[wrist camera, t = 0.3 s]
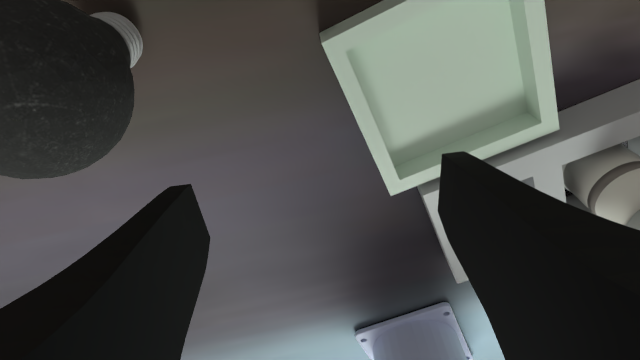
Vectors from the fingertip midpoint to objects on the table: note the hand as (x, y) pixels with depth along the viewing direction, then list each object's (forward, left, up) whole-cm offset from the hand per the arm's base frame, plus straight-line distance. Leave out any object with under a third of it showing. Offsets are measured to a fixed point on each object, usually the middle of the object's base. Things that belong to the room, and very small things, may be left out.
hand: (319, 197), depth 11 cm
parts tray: (-3, -6, -10) cm, 12 cm away
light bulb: (+6, +7, -10) cm, 14 cm away
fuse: (-12, -13, -10) cm, 20 cm away
